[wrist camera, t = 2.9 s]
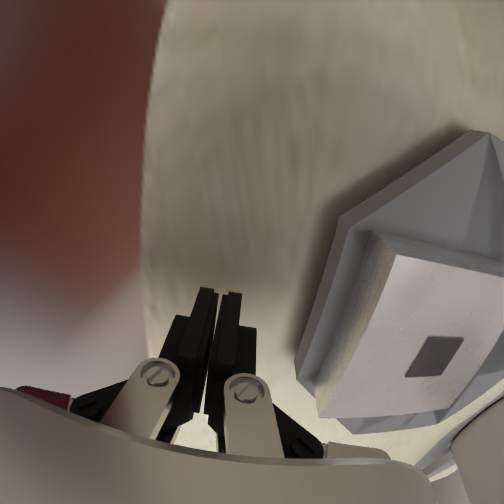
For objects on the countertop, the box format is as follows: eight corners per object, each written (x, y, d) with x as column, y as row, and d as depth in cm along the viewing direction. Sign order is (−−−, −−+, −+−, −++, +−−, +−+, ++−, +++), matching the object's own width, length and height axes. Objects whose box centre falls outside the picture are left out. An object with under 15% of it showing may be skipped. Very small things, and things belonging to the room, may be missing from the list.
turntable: (572, 205, 11) (584, 212, 9) (472, 403, 19) (477, 414, 18) (367, 84, 10) (381, 79, 9) (271, 416, 18) (272, 433, 17)
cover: (500, 261, 11) (527, 284, 9) (434, 381, 15) (448, 409, 13) (372, 229, 11) (397, 255, 9) (313, 382, 15) (319, 419, 12)
